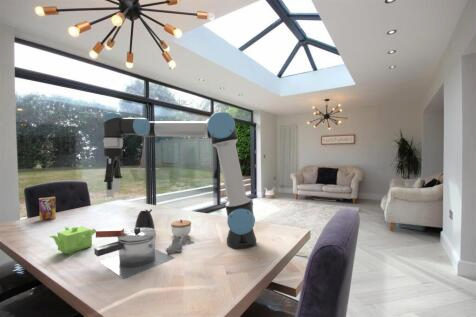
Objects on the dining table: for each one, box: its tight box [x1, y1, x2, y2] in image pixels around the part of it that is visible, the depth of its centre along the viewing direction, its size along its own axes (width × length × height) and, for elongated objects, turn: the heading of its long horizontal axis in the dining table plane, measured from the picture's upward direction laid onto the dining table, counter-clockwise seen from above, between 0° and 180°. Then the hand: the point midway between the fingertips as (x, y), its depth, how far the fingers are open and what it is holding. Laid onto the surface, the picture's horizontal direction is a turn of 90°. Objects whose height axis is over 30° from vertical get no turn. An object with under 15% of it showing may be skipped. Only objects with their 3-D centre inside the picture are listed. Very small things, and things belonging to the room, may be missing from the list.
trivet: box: [99, 248, 175, 280], centre depth 102 cm, size 22×22×1 cm
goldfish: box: [165, 236, 195, 255], centre depth 117 cm, size 20×10×9 cm
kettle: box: [48, 226, 97, 256], centre depth 114 cm, size 15×14×11 cm
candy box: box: [38, 196, 57, 222], centre depth 169 cm, size 9×4×15 cm, turn 127°
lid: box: [95, 227, 157, 242], centre depth 101 cm, size 23×15×3 cm, turn 96°
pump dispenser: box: [134, 208, 156, 230], centre depth 132 cm, size 10×10×15 cm
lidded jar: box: [170, 219, 192, 238], centre depth 133 cm, size 11×11×9 cm
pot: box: [93, 235, 156, 268], centre depth 98 cm, size 23×15×10 cm, turn 141°
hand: (113, 194), depth 110 cm, fingers open, 13 cm apart
